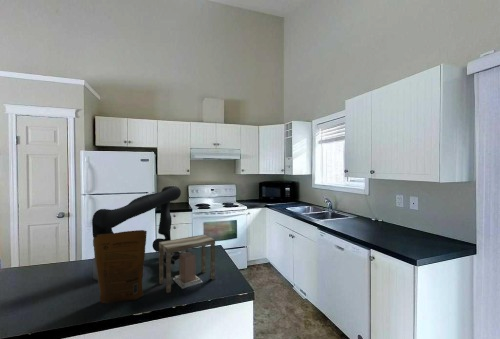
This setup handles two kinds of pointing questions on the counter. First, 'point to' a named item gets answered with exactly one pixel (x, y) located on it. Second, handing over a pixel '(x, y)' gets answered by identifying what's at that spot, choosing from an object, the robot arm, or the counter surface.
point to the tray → (188, 284)
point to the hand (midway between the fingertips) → (182, 260)
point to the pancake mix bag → (120, 265)
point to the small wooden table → (184, 245)
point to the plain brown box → (187, 267)
